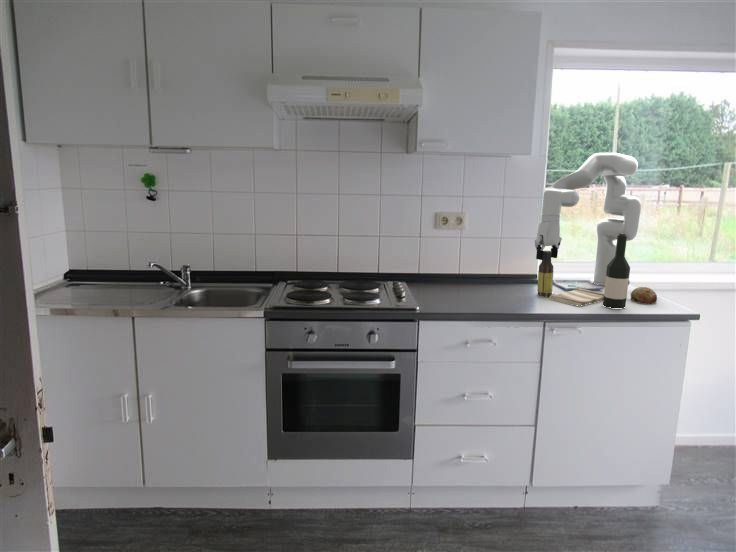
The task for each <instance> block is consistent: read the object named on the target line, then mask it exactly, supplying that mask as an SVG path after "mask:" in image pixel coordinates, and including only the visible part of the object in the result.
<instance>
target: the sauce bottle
mask: <svg viewBox="0 0 736 552" xmlns="http://www.w3.org/2000/svg"><path fill="white" fill-rule="evenodd" d="M543 251H544V256H543V260H541V262H540V264H539V266H538V271H537V296H539V297H541V298H550V295H552V294H553V284H554V264H553V263H552V257H551V255H552V251H551V250H543Z"/></svg>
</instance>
